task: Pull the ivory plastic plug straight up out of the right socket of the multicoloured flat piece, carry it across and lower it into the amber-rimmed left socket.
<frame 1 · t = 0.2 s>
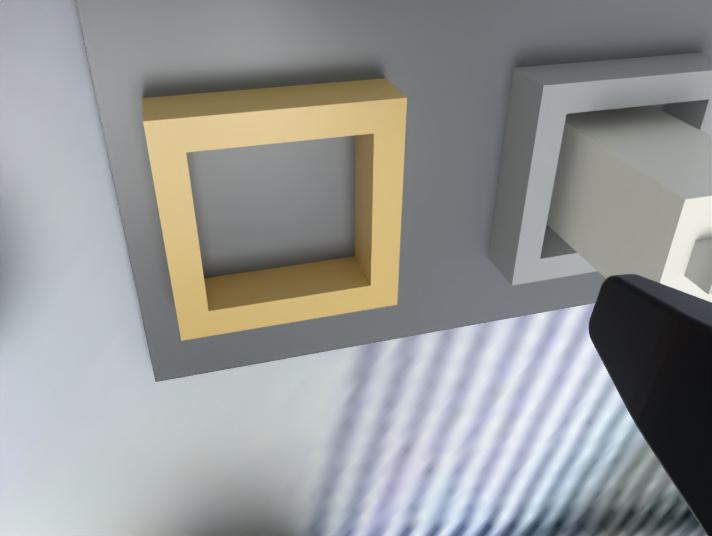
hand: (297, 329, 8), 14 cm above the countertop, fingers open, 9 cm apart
plug: (589, 159, 25), point 1 cm above the countertop, touching multicoloured flat piece
multicoloured flat piece: (432, 166, 24), on the countertop
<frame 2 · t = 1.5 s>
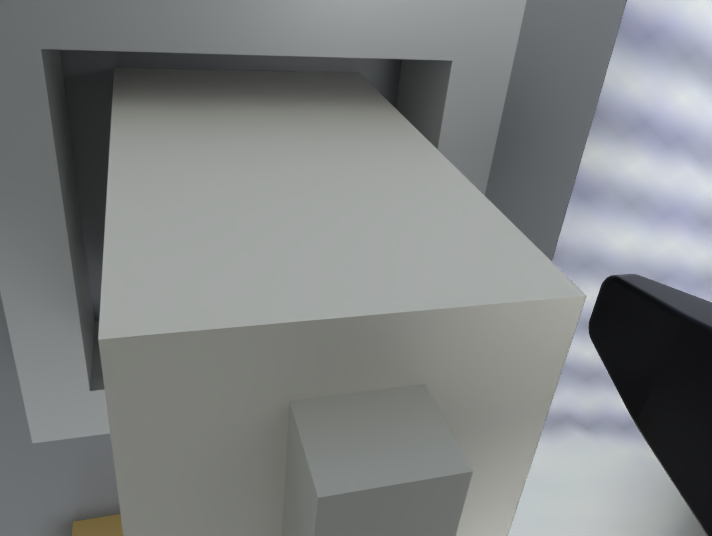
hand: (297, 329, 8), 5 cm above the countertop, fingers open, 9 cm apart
plug: (242, 182, 12), point 1 cm above the countertop, touching multicoloured flat piece
multicoloured flat piece: (234, 397, 16), on the countertop
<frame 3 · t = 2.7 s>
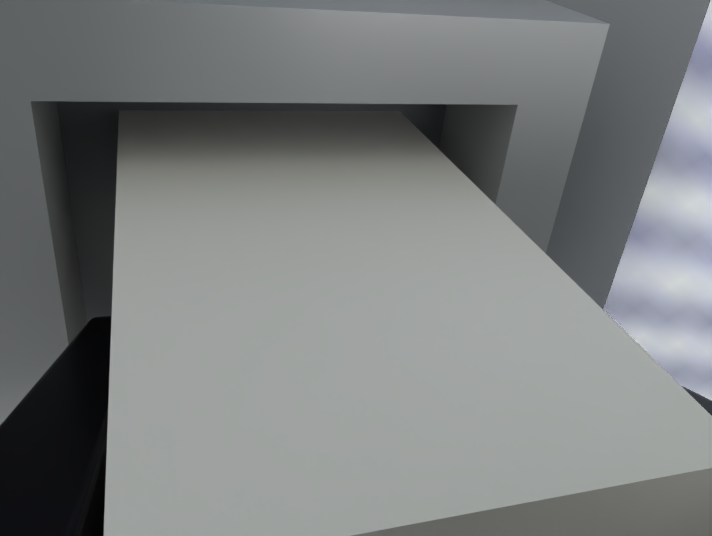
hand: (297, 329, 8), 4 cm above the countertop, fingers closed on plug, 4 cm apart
plug: (264, 234, 10), point 1 cm above the countertop, touching gripper, multicoloured flat piece
multicoloured flat piece: (249, 457, 14), on the countertop
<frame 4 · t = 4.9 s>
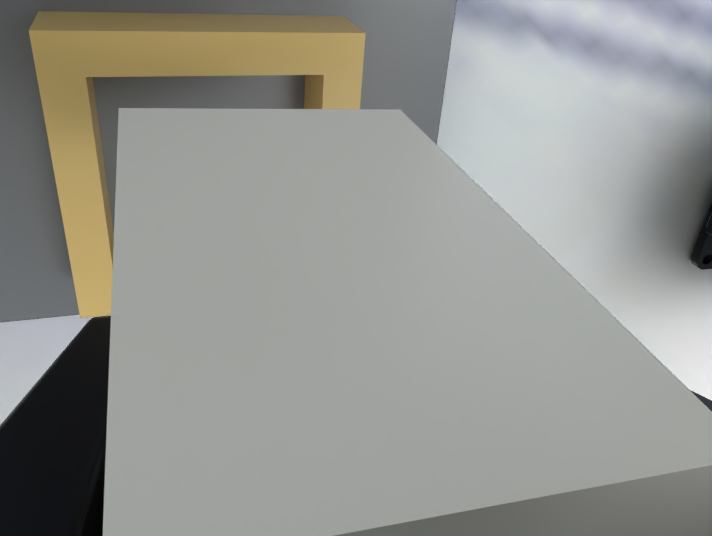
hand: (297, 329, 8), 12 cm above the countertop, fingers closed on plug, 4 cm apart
plug: (264, 233, 10), point 10 cm above the countertop, touching gripper
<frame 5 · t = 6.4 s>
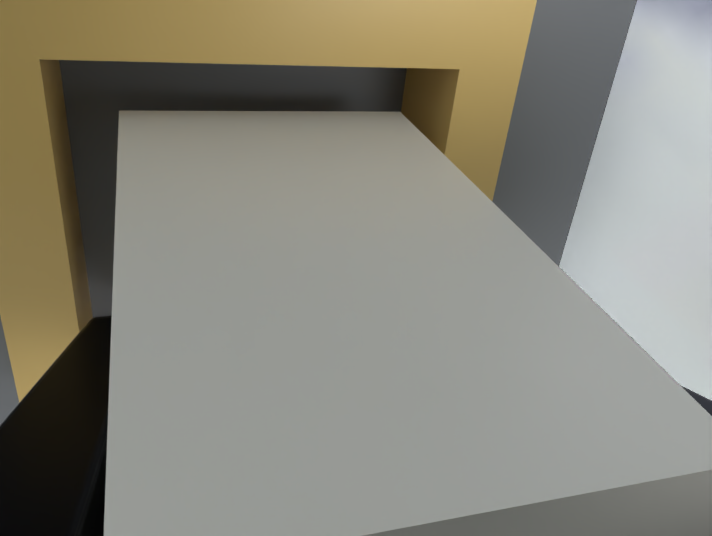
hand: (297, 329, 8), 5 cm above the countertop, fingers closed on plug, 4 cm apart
plug: (264, 235, 10), point 3 cm above the countertop, touching gripper
when the fingers open (4 cm above the countertop, at t = 7.3 s): plug stays where it is, resting on multicoloured flat piece.
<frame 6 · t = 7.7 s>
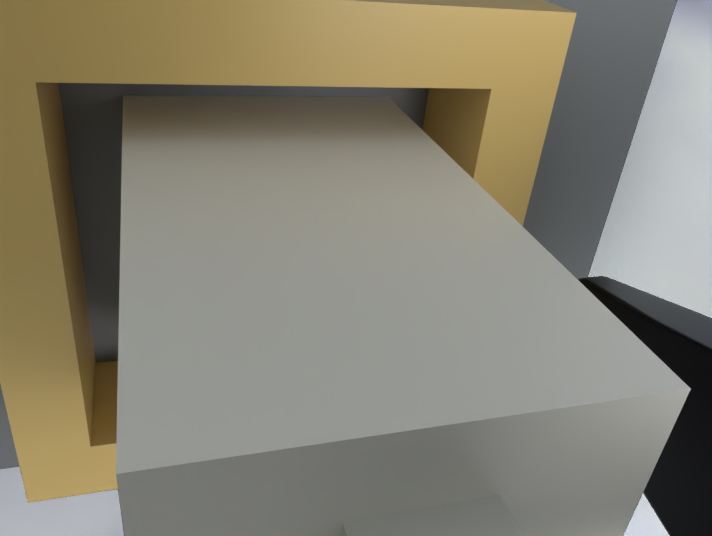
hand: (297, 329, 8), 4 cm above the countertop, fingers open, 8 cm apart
plug: (260, 215, 11), point 1 cm above the countertop, touching multicoloured flat piece
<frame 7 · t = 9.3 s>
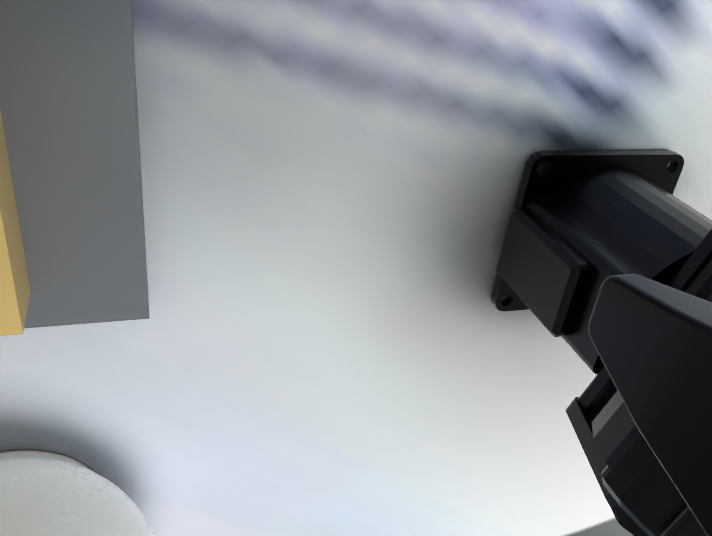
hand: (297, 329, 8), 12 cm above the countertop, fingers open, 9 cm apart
lidded jar: (20, 503, 25), on the countertop
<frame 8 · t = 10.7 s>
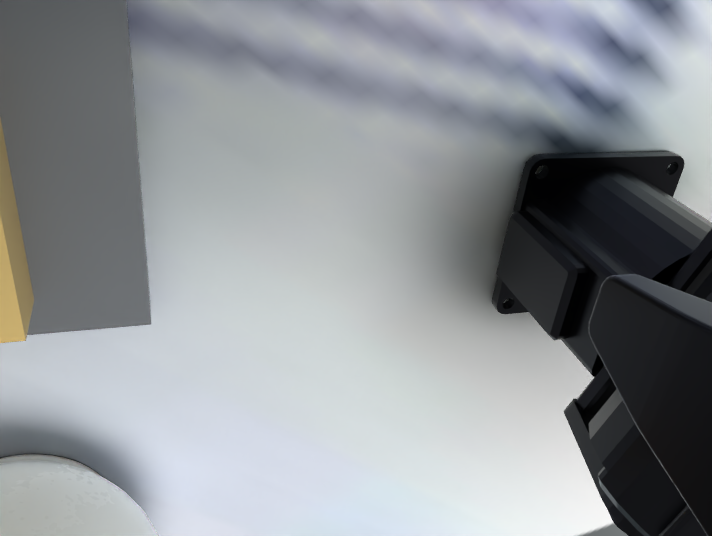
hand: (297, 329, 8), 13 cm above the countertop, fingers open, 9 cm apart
lidded jar: (29, 507, 25), on the countertop
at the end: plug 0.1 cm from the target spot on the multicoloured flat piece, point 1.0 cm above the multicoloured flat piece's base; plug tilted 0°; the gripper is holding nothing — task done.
